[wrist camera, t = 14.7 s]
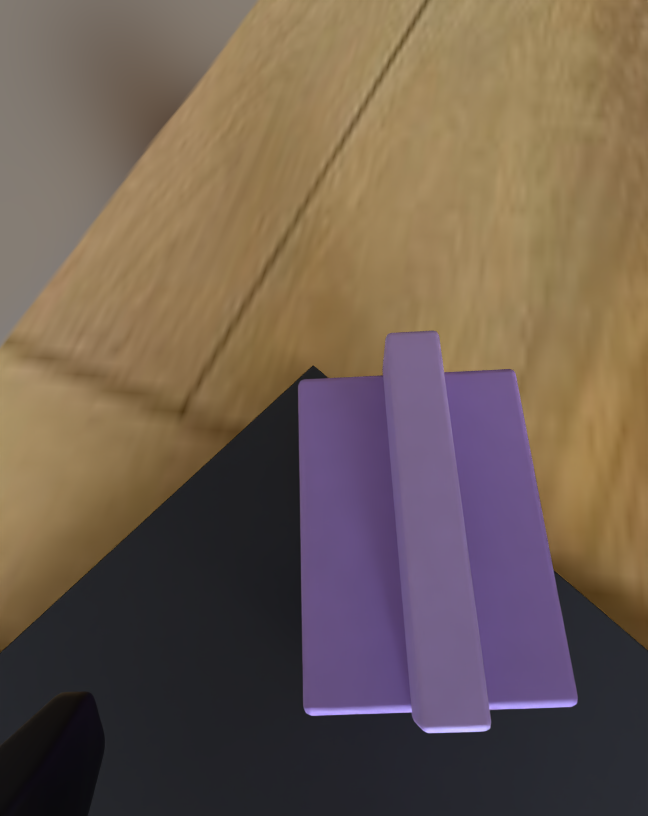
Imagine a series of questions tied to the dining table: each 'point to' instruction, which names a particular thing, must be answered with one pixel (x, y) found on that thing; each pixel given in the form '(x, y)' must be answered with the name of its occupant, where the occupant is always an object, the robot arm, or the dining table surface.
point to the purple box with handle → (425, 547)
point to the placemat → (296, 677)
